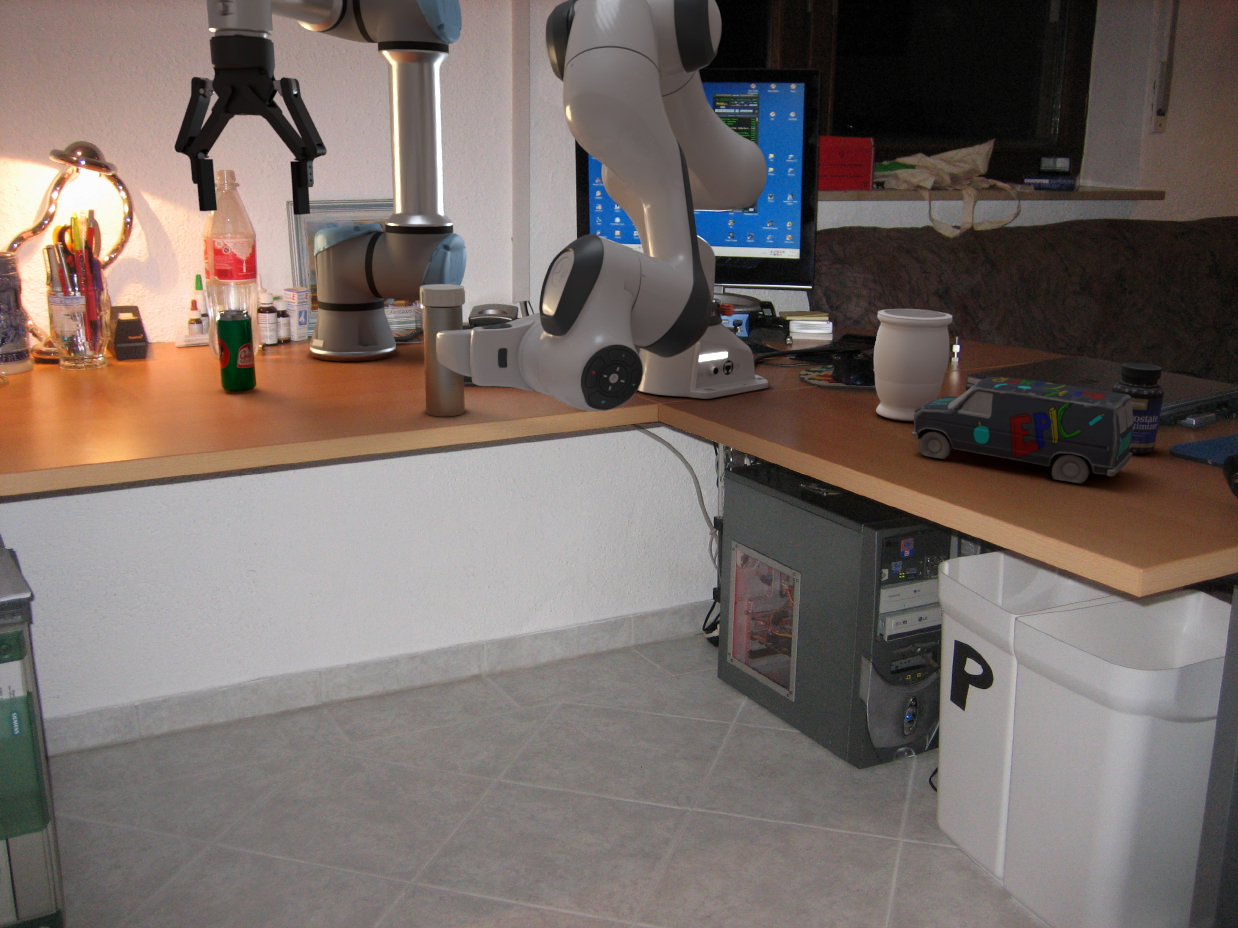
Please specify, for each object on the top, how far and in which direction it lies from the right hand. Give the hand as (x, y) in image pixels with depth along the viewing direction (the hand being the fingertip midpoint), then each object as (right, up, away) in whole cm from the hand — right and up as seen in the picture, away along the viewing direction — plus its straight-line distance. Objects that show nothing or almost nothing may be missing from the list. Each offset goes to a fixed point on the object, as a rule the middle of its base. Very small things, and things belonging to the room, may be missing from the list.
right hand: (497, 335), depth 133 cm
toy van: (+65, -16, +1) cm, 67 cm away
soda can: (-43, -5, +32) cm, 54 cm away
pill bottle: (+82, -14, +8) cm, 84 cm away
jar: (+57, -9, +23) cm, 62 cm away
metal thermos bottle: (-10, -9, +21) cm, 24 cm away
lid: (-10, +8, +16) cm, 20 cm away
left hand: (-32, +16, +5) cm, 36 cm away
